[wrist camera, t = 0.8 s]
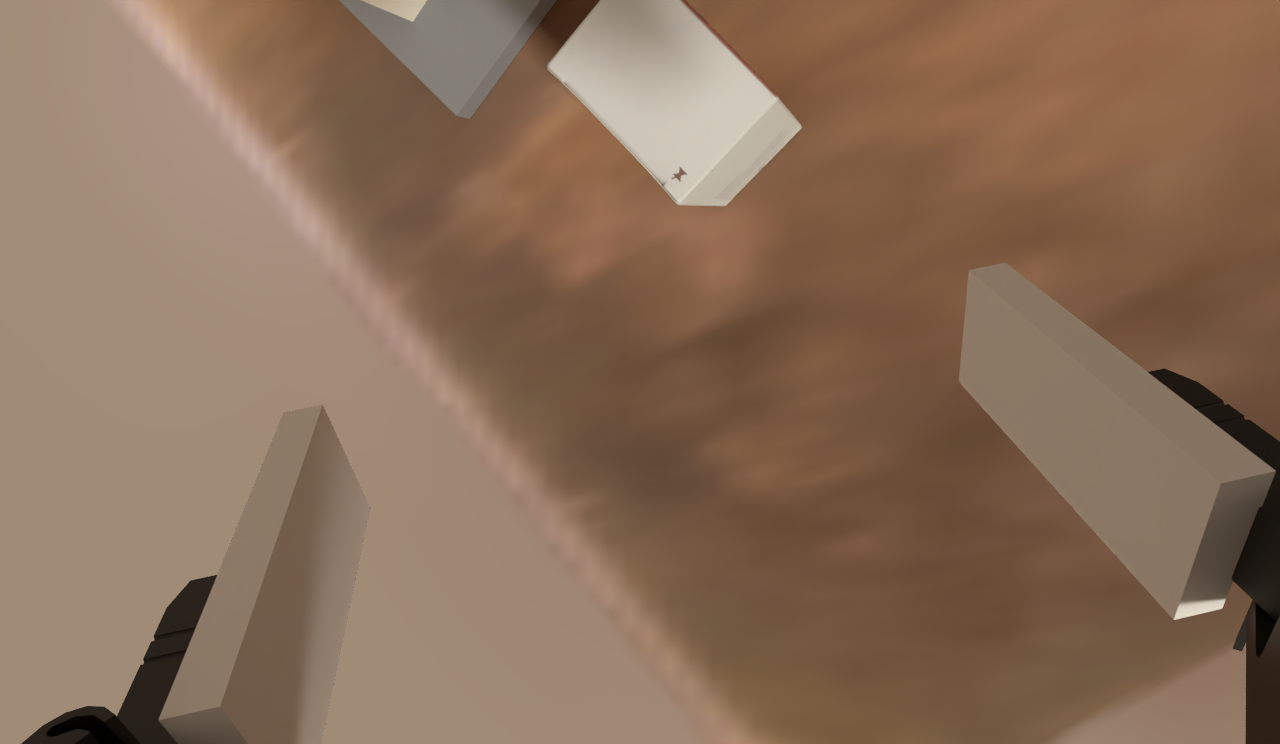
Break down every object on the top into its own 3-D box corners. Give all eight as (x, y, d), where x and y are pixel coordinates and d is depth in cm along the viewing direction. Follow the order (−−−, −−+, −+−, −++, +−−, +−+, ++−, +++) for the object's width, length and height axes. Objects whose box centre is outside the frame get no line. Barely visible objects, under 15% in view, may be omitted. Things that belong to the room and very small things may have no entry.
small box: (804, 127, 39) (785, 100, 29) (724, 209, 41) (680, 210, 31) (694, 13, 39) (636, -53, 29) (619, 99, 41) (541, 65, 31)
